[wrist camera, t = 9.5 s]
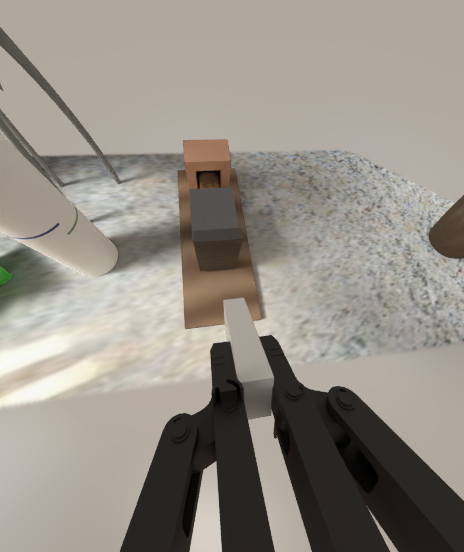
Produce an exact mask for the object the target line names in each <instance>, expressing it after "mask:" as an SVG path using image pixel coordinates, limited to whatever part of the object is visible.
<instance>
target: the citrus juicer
mask: <svg viewBox="0 0 464 552" xmlns="http://www.w3.org/2000/svg"><path fill="white" fill-rule="evenodd" d="M0 46H2V47H3V48H4V49H5V50H6V51H7V52H8V53H9V54H10V55H11V56H12V57H13V58H14V59H15V60H16V61H17V62H18V63H19V64H20V65H21V66H22V67H23V68H24V69H25V70H26V72H27V73H29V75H30V76H31V77H32V78H33V79H34V80H35V81H36V82H37V83H38V84H39V85H40V87H41V88H42V89H43V90H44V91H45V92H46V93H47V94H48V95H49V96H50V98H51V99H52V100H53V101H54V102H55V103H56V104H57V106H58V107H59V108H60V109H61V110H62V111H63V113H64V114H65V115H66V116H67V117H68V118H69V120H70V121H71V122H72V123H73V124H74V125H75V127H76V128H77V129H78V130H79V132H80V133H81V134H82V135H83V137H84V138H85V139H86V140H87V142H88V143H89V144H90V146H91V147H92V148H93V150H94V151H95V152H96V154H97V155H98V156H99V158H100V159H101V160H102V162H103V163H104V165H105V166H106V167H107V169H108V170H109V172H110V173H111V175H112V176H113V178H114V179H115V181H116V183H117V184H120V183H121V181H120V180H119V178H118V176H117V174H116V173H115V171H114V169H113V168H112V166H111V165H110V163H109V162H108V160H107V159H106V158H105V156H104V155H103V153H102V152H101V150H100V149H99V148H98V146H97V145H96V144H95V142H94V141H93V139H92V138H91V136H90V135H89V134H88V132H87V131H86V130H85V129H84V127H83V126H82V125H81V123H80V122H79V121H78V119H77V118H76V117H75V116H74V114H73V113H72V112H71V110H70V109H69V108H68V107H67V105H66V104H65V103H64V102H63V101H62V99H61V98H60V97H59V95H58V94H57V93H56V92H55V90H54V89H53V88H52V87H51V86H50V84H49V83H48V82H47V81H46V80H45V78H44V77H43V76H42V75H41V74H40V72H39V71H38V70H37V69H36V68H35V66H34V65H33V64H32V63H31V62H30V61H29V59H28V58H27V57H26V56H25V55H24V54H23V53H22V51H21V50H20V49H19V48H18V47H17V46H16V45H15V44H14V42H13V41H12V40H11V39H10V38H9V37H8V35H7V34H6V33H5V32H4V31H3V30H2V29H1V28H0ZM0 89H1V90H2V91H3V89H2V87H1V85H0ZM0 129H1V131H2V132H3V133H4V134H5V135H6V137H7V138H8V139H9V140H10V141H11V143H12V144H13V145H14V146H15V148H16V149H17V150H18V151H19V152H20V153H21V154H22V155H23V156H24V157H25V158H26V159H27V160H28V161H29V162H30V163H31V164H32V165H33V166H34V167H35V168H36V169H37V170H38V171H39V172H40V173H41V174H42V175H43V176H44V177H46V178H47V179H48V180H49V181H50V182H51V183H52V184H53V185H54V186H55V187H56V188H57V186H56V185H55V184H54V183H53V182H52V181H51V179H50V178H49V177H48V176H47V175H46V173H45V172H44V171H43V170H42V169H41V167H40V166H39V165H38V164H37V163H36V161H35V160H34V159H33V158H32V156H33V157H34V158H35V159H36V160H37V161H38V162H39V164H40V165H41V166H42V167H43V168H44V169H45V170H46V171H47V173H48V174H49V175H50V176H51V177H52V178H53V179H54V180H55V181H56V182H57V183H58V184H59V185H60V186H63V185H64V184H63V182H62V181H61V180H60V179H59V178H58V177H57V176H56V175H55V174H54V173H53V171H52V170H51V169H50V168H49V167H48V166H47V165H46V163H45V162H44V161H43V160H42V159H41V158H40V156H39V155H38V154H37V153H36V152H35V151H34V150H33V148H32V147H31V146H30V145H29V143H28V142H27V141H26V140H25V139H24V137H23V136H21V134H20V133H19V132H18V130H17V129H16V128H15V127H14V125H13V124H12V123H11V122H10V120H9V119H8V118H7V117H6V116H5V114H4V113H3V112H2V111H1V110H0ZM12 132H13V133H12ZM16 137H17V138H18V139H19V140H18V139H17V138H16ZM19 141H20V142H21V143H22V144H23V145H24V146H25V148H26V149H27V150H28V151H29V152H30V153H31V154H32V156H31V155H30V154H29V153H28V152H27V150H26V149H25V148H24V147H23V145H22V144H21V143H20V142H19ZM57 189H58V188H57ZM58 190H59V189H58ZM59 191H60V190H59ZM60 192H61V191H60ZM61 193H62V192H61ZM62 194H63V193H62ZM63 195H64V194H63Z"/></svg>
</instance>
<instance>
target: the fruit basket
mask: <svg viewBox="0 0 464 552" xmlns="http://www.w3.org/2000/svg"><path fill="white" fill-rule="evenodd" d="M12 277H13V276H12V275H11V274H10V273H8V272H7V271H6V270H5V269H4V268H3V267H1V266H0V286H1V285H3V284H5V283H6V282H7V281H9V280H10V279H11V278H12Z"/></svg>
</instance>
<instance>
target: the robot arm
mask: <svg viewBox="0 0 464 552" xmlns="http://www.w3.org/2000/svg"><path fill="white" fill-rule="evenodd" d="M223 303H224V318H225V331H226V337H227V342H221V343H213V346H212V348H211V350H210V354H211V371H212V398H211V401H210V402H209V404H208V405H207V406H206V407H205V408H204V409H202V410H201V411H199V412H197V413H196V414H194V415H192V416H191V415H189V414H186V413H183V414H178V415H176V416H174V417H172V418H171V419H170V420H169V421H168V423H167V424H166V426H165V428H164V430H163V432H162V435H161V438H160V440H159V443H158V446H157V449H156V452H155V455H154V458H153V460H152V463H151V466H150V468H149V472H148V474H147V477H146V480H145V482H144V485H143V488H142V491H141V494H140V496H139V499H138V502H137V505H136V508H135V510H134V513H133V516H132V519H131V522H130V525H129V527H128V530H127V533H126V536H125V538H124V541H123V544H122V547H121V550H120V552H189V551H190V545H191V538H192V533H193V527H194V521H195V515H196V510H197V503H198V498H199V492H200V486H201V480H202V474H203V470H204V469H205V468H207V467H208V466H209V465H211V464H212V463H214V462H215V461H217V475H218V493H219V509H220V525H221V542H222V552H275V550H274V545H273V541H272V536H271V531H270V526H269V522H268V516H267V511H266V506H265V502H264V497H263V492H262V487H261V482H260V477H259V473H258V467H257V462H256V457H255V452H254V448H253V443H252V438H251V433H250V428H249V424H248V420H249V419H255V418H260V417H265V416H271V410H272V412H273V415H274V419H275V423H274V438H277V437H278V440H279V444H280V447H281V450H282V454H283V457H284V460H285V464H286V467H287V470H288V474H289V477H290V480H291V484H292V487H293V490H294V493H295V497H296V500H297V503H298V507H299V510H300V513H301V517H302V520H303V523H304V526H305V529H306V533H307V536H308V540H309V543H310V547H311V550H312V552H390V551H389V549H388V547H387V545H386V543H385V541H384V539H383V537H382V535H381V533H380V531H379V529H378V527H377V525H376V523H375V521H374V519H373V518H372V516H371V514H370V512H369V510H370V511H371V513H372V514H373V515H374V517H375V518H376V520H377V521H378V523H379V524H380V526H381V527H382V528H383V530H384V531H385V533H386V534H387V536H388V537H389V539H390V540H391V541H392V543H393V544H394V546H395V547H396V549H397V550H398V552H464V501H463V500H462V499H461V498H460V497H459V496H458V495H457V494H456V493H455V492H454V491H453V490H452V489H451V488H450V487H449V486H448V485H447V484H446V483H445V482H444V481H443V480H442V479H441V478H440V477H439V476H438V475H437V474H436V473H435V472H434V471H433V470H432V469H431V468H430V467H429V466H428V465H427V464H426V463H425V462H424V461H423V460H422V459H421V458H420V457H419V456H418V455H417V454H416V453H415V452H414V451H413V450H412V449H411V448H410V447H409V446H408V445H407V444H406V443H405V442H403V440H402V439H401V438H400V437H399V436H398V435H397V434H395V432H393V430H392V429H391V428H389V427H388V425H387V424H386V423H384V422H383V420H381V419H380V418H379V417H378V416H377V415H376V414H375V413H374V412H373V411H372V410H371V409H370V408H369V407H368V406H367V405H366V404H365V403H364V402H363V401H362V400H361V399H360V398H359V397H358V396H357V395H356V394H355V393H354V392H352V391H351V390H349V389H347V388H345V387H340V386H336V387H332V388H331V389H330V390H329V392H328V393H327V392H321V391H315V390H311V389H308V388H306V387H305V386H304V385H303V384H301V383H300V382H299V381H298V380H297V379H296V377H295V375H294V373H293V371H292V369H291V367H290V365H289V363H288V361H287V359H286V357H285V355H284V353H283V350H282V349H281V346H280V344H279V342H278V341H277V340H276V339H275V338H274V337H273V336H272V335H269V336H262V337H259V336H258V334H257V331H256V328H255V326H254V323H253V320H252V318H251V315H250V313H249V310H248V307H247V305H246V302H245V299H244V298H237V299H227V300H223ZM366 505H367V506H366ZM367 507H368V508H369V510H368V508H367Z"/></svg>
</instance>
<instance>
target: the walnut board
mask: <svg viewBox="0 0 464 552" xmlns="http://www.w3.org/2000/svg"><path fill="white" fill-rule="evenodd" d="M229 187H232V190H233V196H234V202H235V208H236V214H237V220H238V227H239V228H241V230H242V236H243V240H242V244H241V249H240V253H239V257H238V262H237V266H236V268H231V269H221V270H210V271H200V269H199V264H198V260H197V257H196V253H195V248H194V244H193V239H192V225H191V210H190V196H189V186H188V180H187V174H186V170H178V188H179V210H180V231H181V253H182V275H183V296H184V318H185V329H190V328H198V327H206V326H214V325H223V324H225V318H224V303H223V300H227V299H237V298H244V299H245V302H246V305H247V307H248V310H249V313H250V315H251V318H252V320H253V321H255V320H261V314H260V309H259V303H258V297H257V292H256V286H255V280H254V274H253V269H252V263H251V257H250V252H249V246H248V240H247V235H246V229H245V223H244V217H243V212H242V206H241V200H240V195H239V189H238V183H237V177H236V172H235V168H233V169H230V180H229Z"/></svg>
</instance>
